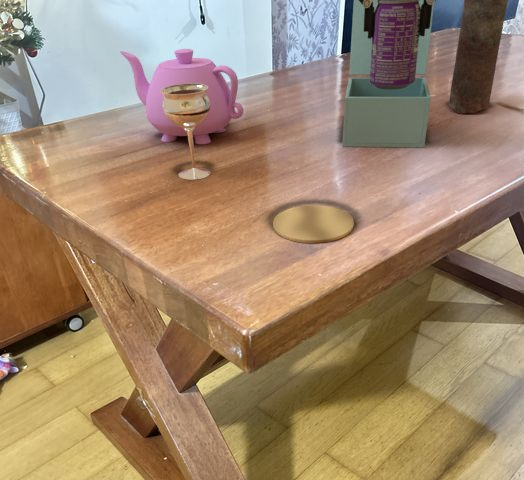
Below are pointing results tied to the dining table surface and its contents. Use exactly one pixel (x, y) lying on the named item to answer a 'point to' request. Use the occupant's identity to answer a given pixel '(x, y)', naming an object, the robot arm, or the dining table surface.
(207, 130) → the teapot
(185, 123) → the wineglass
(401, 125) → the chest
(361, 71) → the chest lid
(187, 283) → the dining table surface
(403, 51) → the beverage can
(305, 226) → the coaster
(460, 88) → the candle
